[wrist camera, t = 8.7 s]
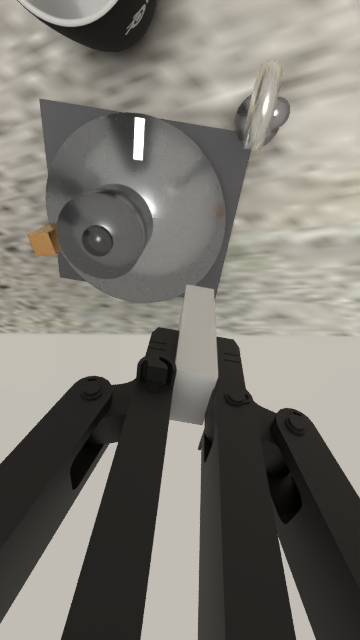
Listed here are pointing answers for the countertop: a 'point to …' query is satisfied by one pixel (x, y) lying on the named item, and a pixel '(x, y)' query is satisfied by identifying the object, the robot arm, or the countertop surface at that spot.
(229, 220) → the turntable base
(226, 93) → the countertop surface
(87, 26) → the mug
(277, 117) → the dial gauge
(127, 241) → the cover
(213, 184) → the turntable
